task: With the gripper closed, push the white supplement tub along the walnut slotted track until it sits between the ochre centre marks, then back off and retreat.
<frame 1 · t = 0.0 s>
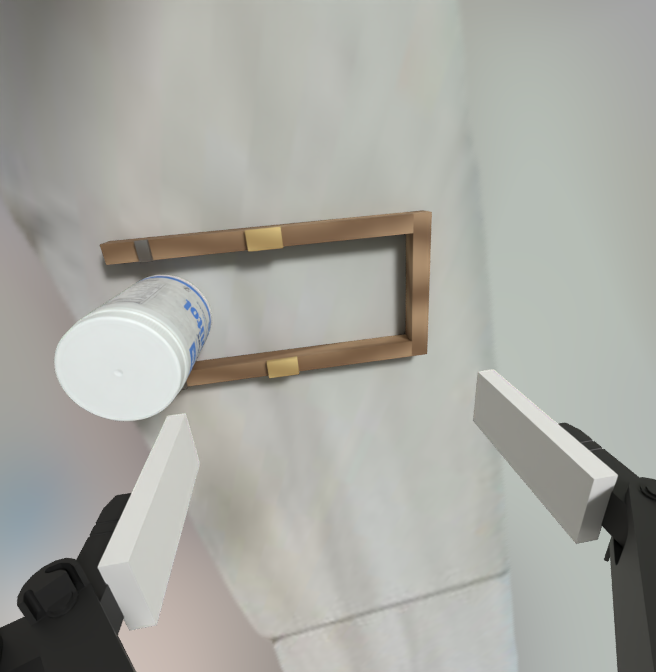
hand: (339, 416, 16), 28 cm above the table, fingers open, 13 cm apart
beam track: (274, 300, 43), on the table
supplement tub: (170, 312, 42), on the table
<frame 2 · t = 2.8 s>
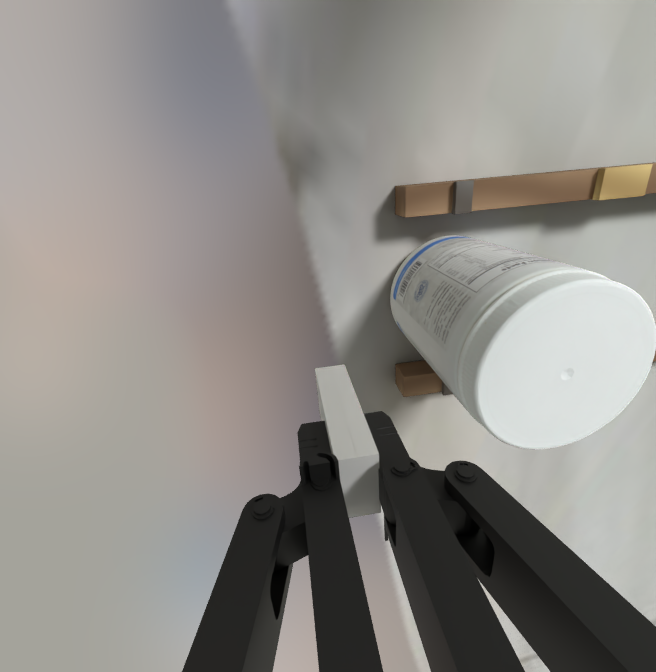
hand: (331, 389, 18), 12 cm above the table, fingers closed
beam track: (573, 274, 32), on the table
supplement tub: (440, 289, 31), on the table
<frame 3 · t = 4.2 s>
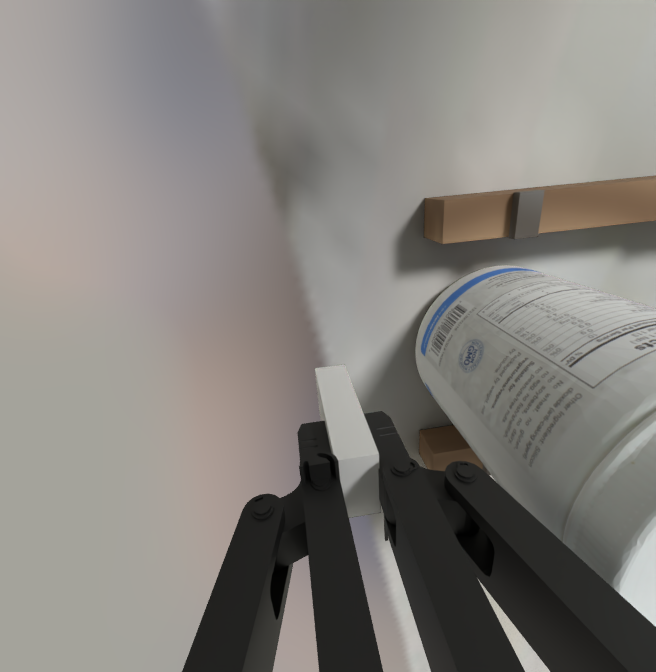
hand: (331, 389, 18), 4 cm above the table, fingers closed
supplement tub: (481, 335, 23), on the table
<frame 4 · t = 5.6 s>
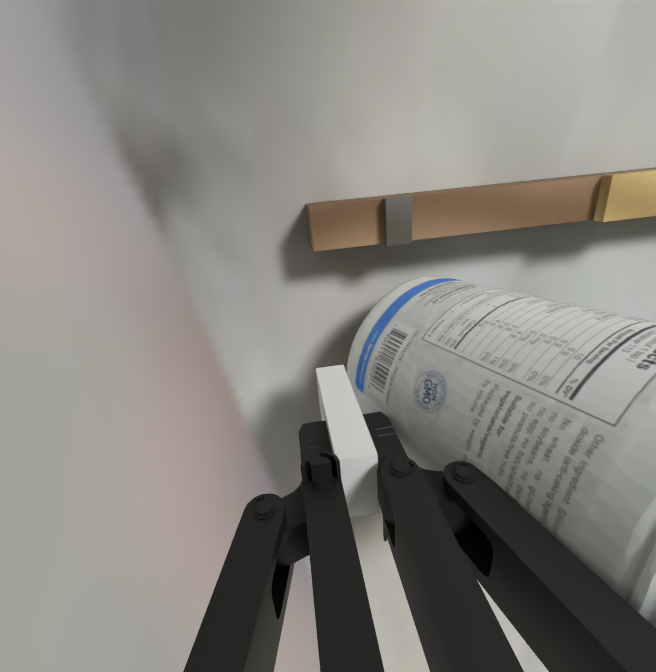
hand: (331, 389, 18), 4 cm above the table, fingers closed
beam track: (568, 318, 23), on the table
supplement tub: (407, 353, 21), point 2 cm above the table, touching gripper
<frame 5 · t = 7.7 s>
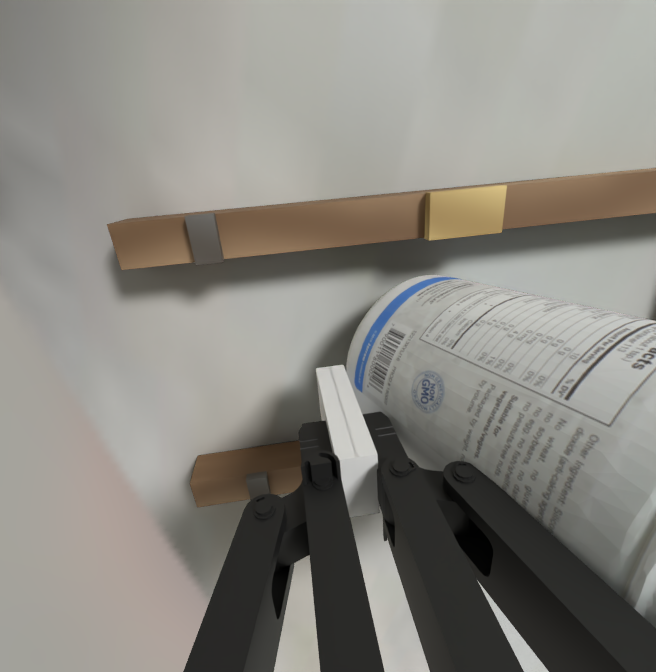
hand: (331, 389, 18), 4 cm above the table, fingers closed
beam track: (435, 335, 23), on the table
supplement tub: (407, 351, 21), point 1 cm above the table, touching gripper, hand
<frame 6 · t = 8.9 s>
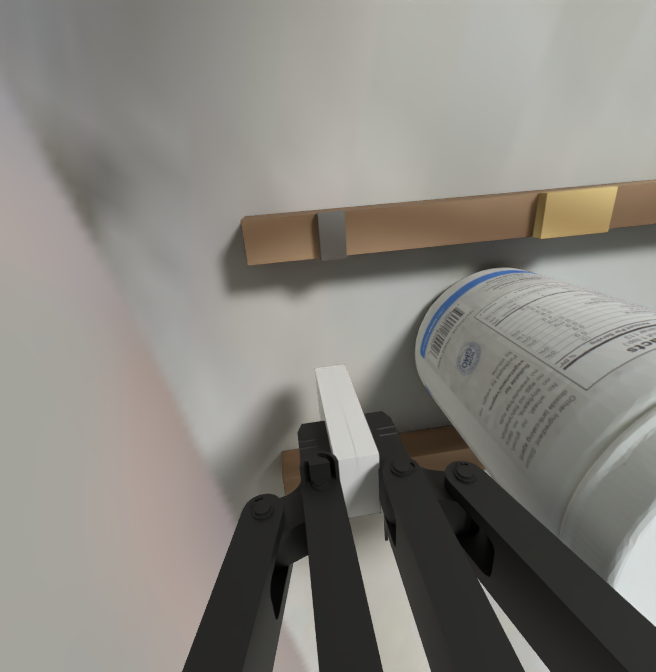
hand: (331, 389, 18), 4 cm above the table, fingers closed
beam track: (519, 332, 23), on the table
supplement tub: (480, 336, 23), on the table
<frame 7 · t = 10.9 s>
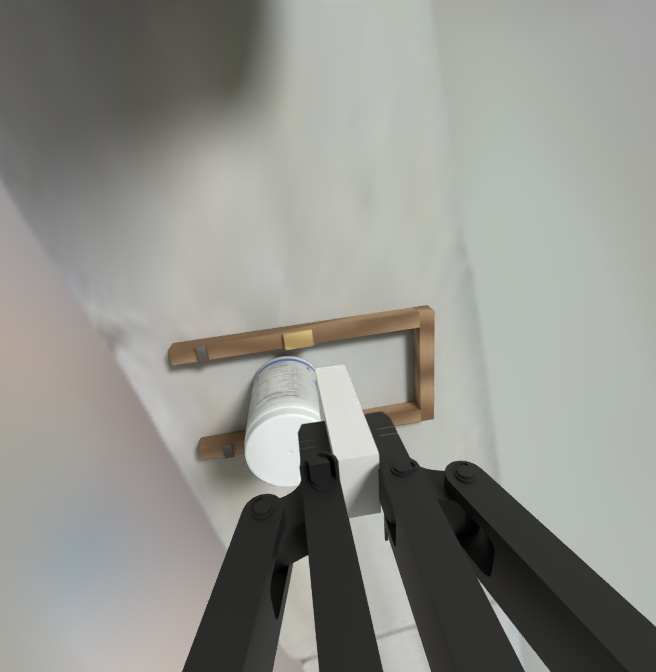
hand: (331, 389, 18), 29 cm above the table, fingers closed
beam track: (304, 380, 51), on the table
supplement tub: (286, 383, 51), on the table
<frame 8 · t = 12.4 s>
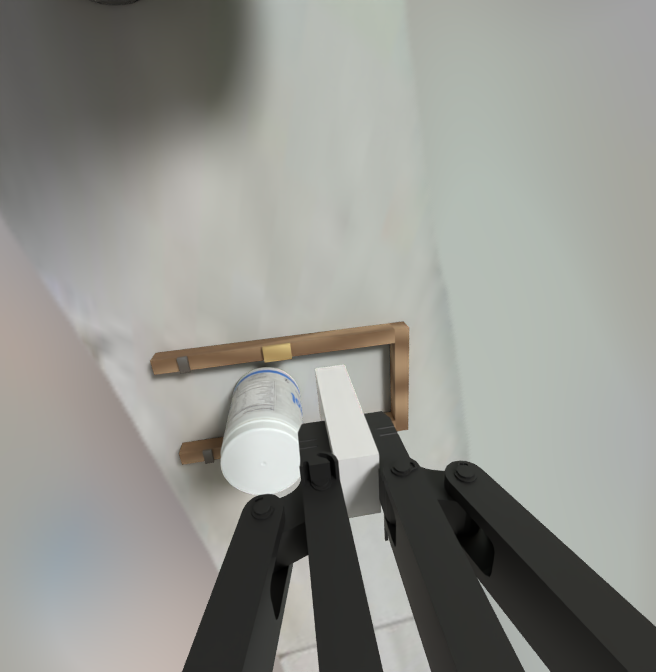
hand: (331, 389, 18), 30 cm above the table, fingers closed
beam track: (284, 390, 53), on the table
supplement tub: (266, 392, 53), on the table
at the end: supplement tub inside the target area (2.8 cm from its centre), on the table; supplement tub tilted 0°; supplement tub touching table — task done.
